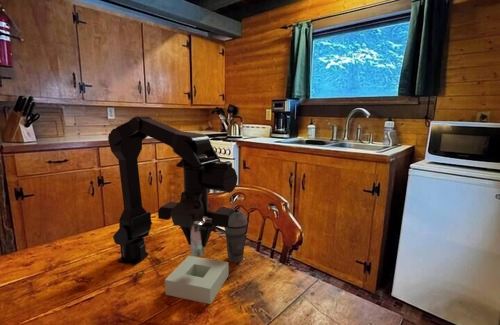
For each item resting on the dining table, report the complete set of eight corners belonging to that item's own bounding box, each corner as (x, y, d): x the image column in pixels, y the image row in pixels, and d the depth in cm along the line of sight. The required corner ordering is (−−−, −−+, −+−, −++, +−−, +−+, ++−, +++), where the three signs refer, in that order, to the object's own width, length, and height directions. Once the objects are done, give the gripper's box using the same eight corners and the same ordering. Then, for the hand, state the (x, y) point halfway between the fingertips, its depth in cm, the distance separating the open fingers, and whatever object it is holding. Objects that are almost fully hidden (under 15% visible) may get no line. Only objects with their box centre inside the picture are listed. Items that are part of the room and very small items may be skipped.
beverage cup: (244, 266, 80) (244, 200, 77) (220, 263, 82) (219, 199, 78) (249, 254, 87) (250, 193, 84) (227, 251, 89) (227, 192, 85)
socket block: (165, 294, 68) (164, 279, 67) (189, 268, 79) (188, 255, 78) (210, 304, 64) (210, 288, 64) (228, 275, 76) (228, 262, 75)
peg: (188, 255, 69) (187, 225, 68) (194, 248, 72) (194, 219, 71) (201, 257, 68) (200, 226, 67) (207, 250, 71) (206, 221, 70)
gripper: (141, 191, 62) (145, 255, 65) (218, 199, 57) (219, 268, 60) (169, 180, 72) (171, 235, 75) (236, 186, 67) (236, 245, 70)
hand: (197, 245), depth 70 cm, fingers closed on peg, 3 cm apart
